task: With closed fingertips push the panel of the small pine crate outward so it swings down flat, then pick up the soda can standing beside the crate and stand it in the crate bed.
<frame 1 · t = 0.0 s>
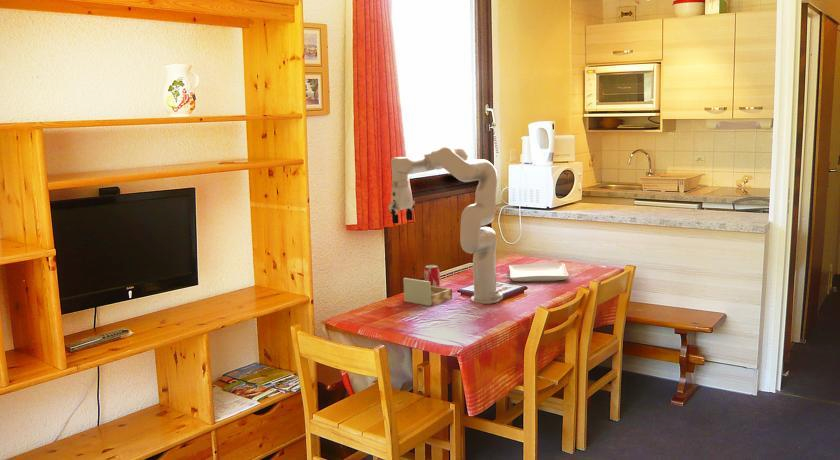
hand: (402, 221, 352), 31 cm above the table, fingers open, 9 cm apart
panel: (417, 292, 325), point 6 cm above the table, hinge at 0.0°
crate: (428, 301, 331), on the table
soda can: (432, 292, 347), on the table
square plate: (538, 277, 368), on the table
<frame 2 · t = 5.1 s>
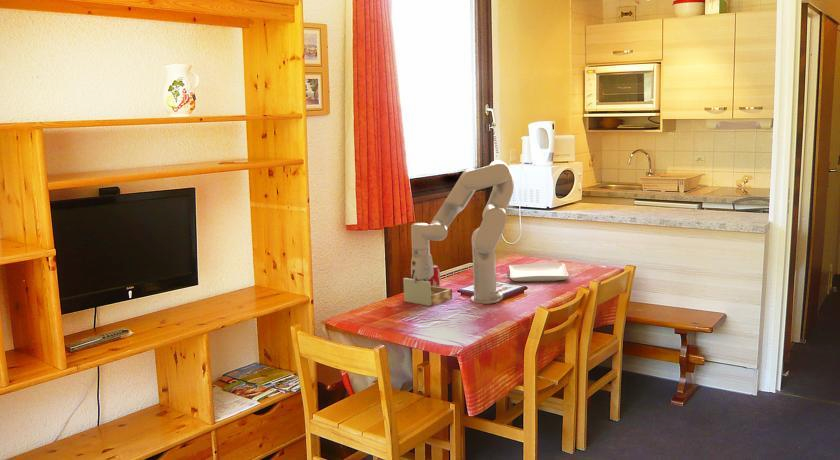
hand: (422, 294, 328), 4 cm above the table, fingers closed
panel: (417, 292, 325), point 6 cm above the table, hinge at 0.4°, touching gripper
everything else where it was.
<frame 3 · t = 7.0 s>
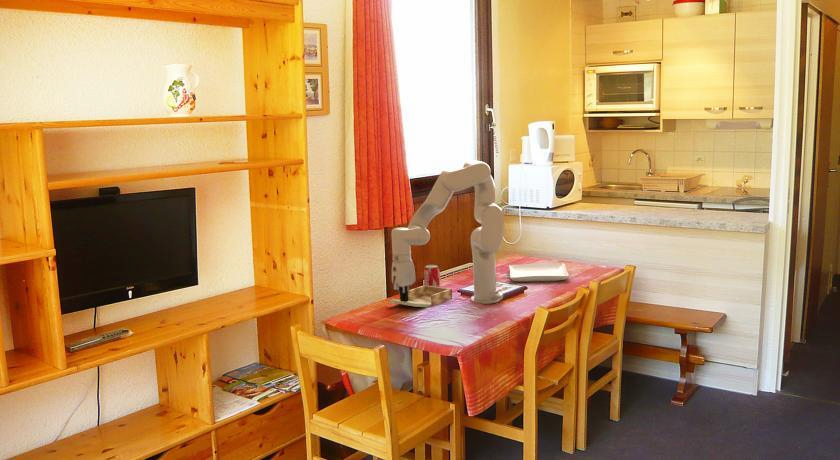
hand: (404, 301, 319), 4 cm above the table, fingers closed
panel: (410, 303, 322), point 2 cm above the table, hinge at 74.5°, touching gripper
everything else where it was.
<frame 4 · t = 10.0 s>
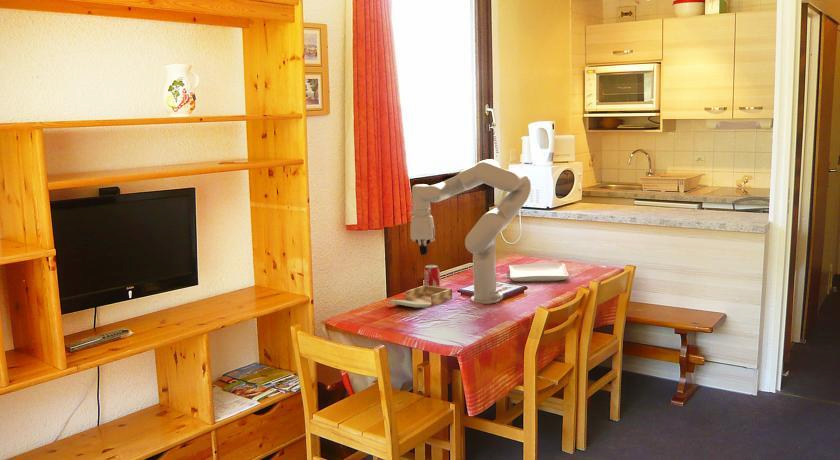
hand: (423, 254, 337), 19 cm above the table, fingers closed
panel: (410, 303, 322), point 2 cm above the table, hinge at 76.1°
everything else where it was.
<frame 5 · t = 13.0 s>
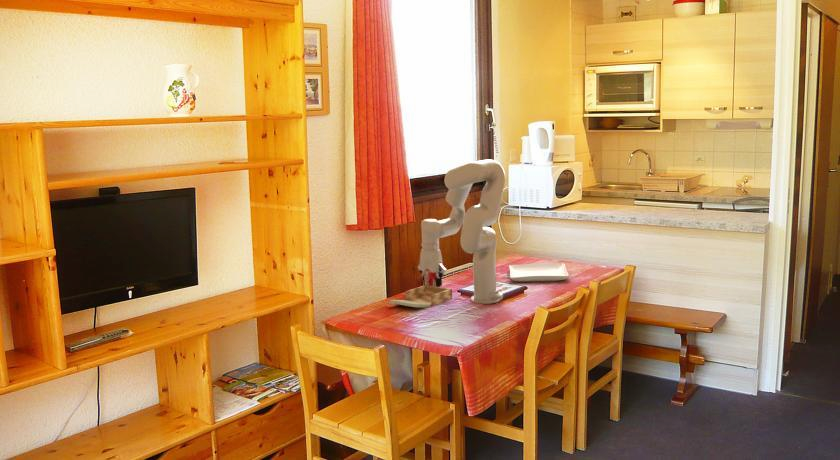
hand: (432, 285, 347), 3 cm above the table, fingers closed on soda can, 6 cm apart
soda can: (432, 292, 347), on the table, touching gripper
everything else where it was.
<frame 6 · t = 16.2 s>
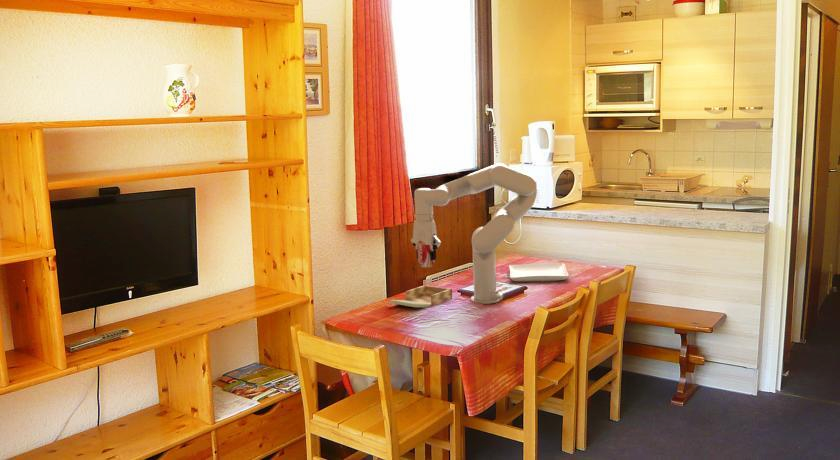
hand: (426, 258, 328), 19 cm above the table, fingers closed on soda can, 6 cm apart
soda can: (426, 266, 328), point 16 cm above the table, touching gripper
everything else where it was.
when the fingers open (6 cm above the table, at t = 19.0 s): soda can drops 2 cm, resting on crate.
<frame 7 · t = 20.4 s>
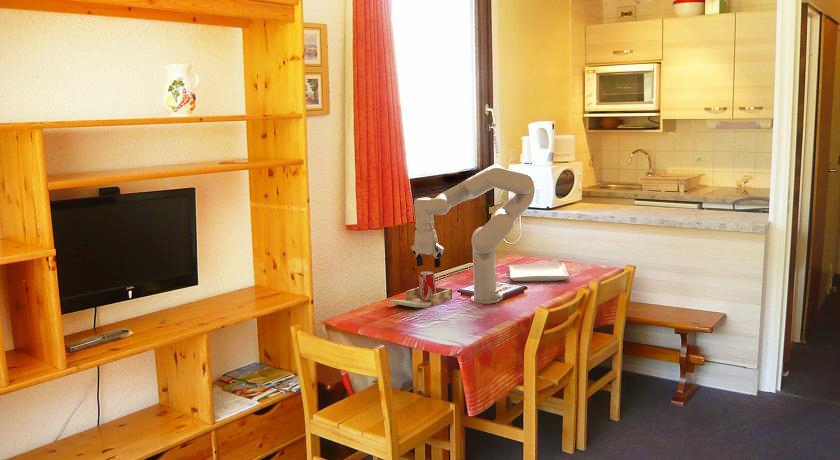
hand: (428, 266, 328), 16 cm above the table, fingers open, 9 cm apart
soda can: (428, 300, 331), point 1 cm above the table, touching crate
everything else where it was.
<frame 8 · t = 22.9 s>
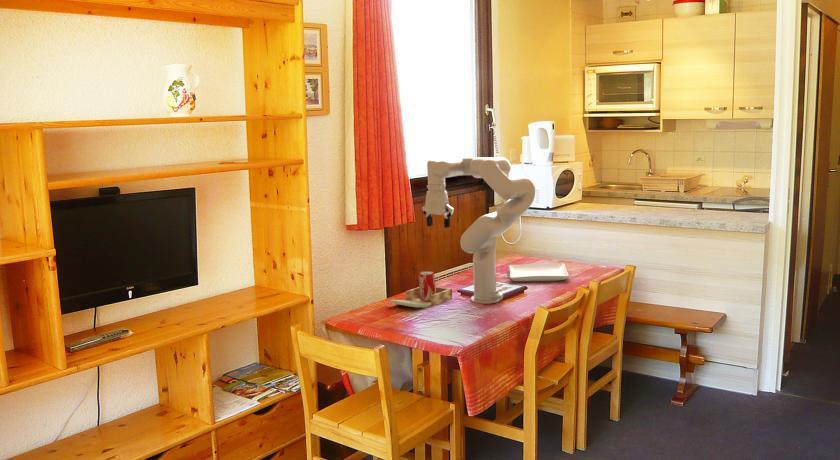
hand: (438, 226, 339), 30 cm above the table, fingers open, 9 cm apart
nothing on the table moved.
at the end: panel at +76° (first picture: +0°); soda can inside the target area on the crate (0.3 cm from its centre), point 0.6 cm above the crate's base; soda can tilted 0° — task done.
